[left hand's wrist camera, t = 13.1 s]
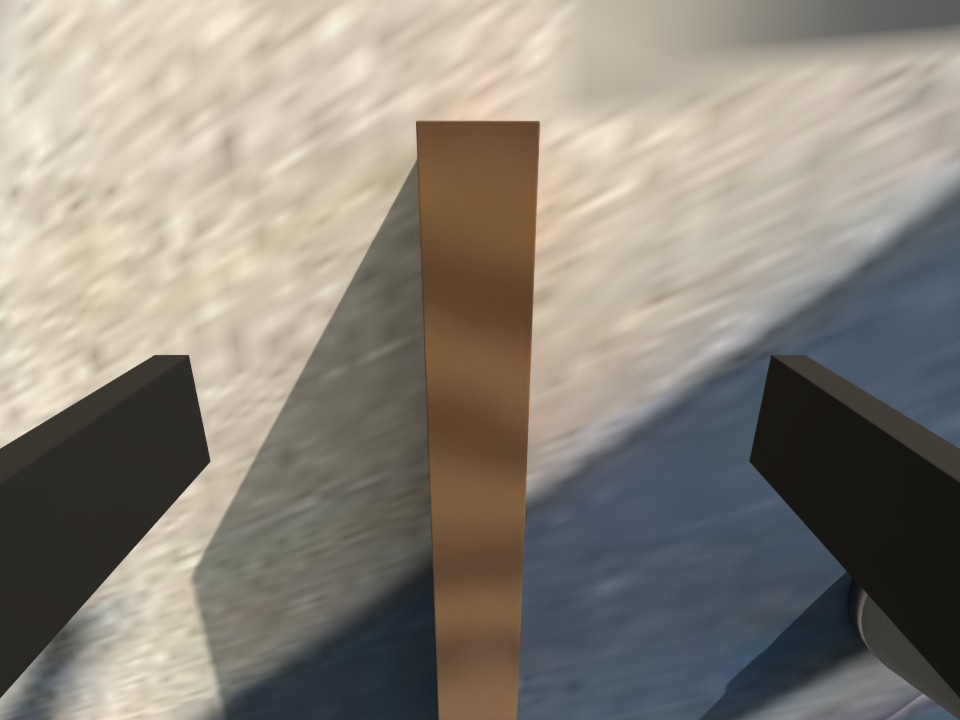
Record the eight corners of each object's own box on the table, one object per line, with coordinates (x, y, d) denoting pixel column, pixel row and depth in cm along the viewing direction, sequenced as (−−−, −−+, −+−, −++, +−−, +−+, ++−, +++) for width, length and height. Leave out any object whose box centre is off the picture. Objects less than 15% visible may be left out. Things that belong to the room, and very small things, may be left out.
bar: (432, 129, 29) (415, 120, 21) (523, 129, 29) (540, 120, 21) (453, 902, 56) (450, 1024, 48) (501, 901, 56) (505, 1023, 48)
